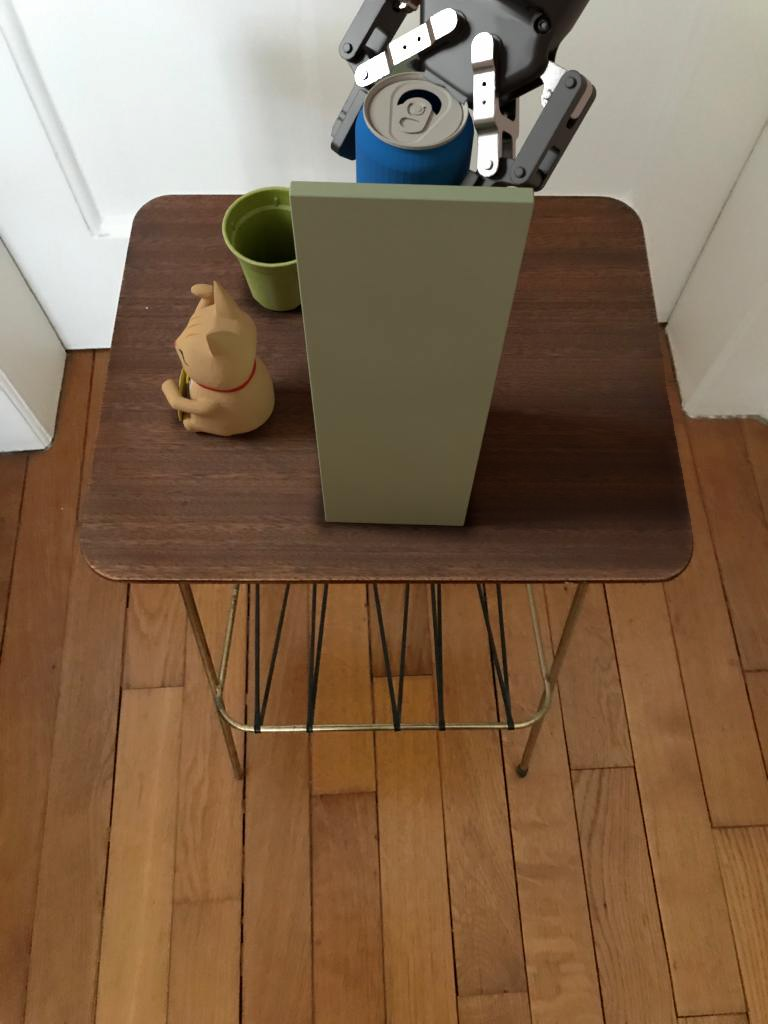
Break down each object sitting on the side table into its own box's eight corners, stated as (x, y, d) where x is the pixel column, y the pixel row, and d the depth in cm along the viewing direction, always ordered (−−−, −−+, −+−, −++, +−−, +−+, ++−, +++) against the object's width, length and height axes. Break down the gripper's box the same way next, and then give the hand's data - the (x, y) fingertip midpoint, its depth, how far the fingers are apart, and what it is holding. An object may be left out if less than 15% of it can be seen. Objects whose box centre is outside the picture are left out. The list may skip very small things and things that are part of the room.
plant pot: (329, 250, 91) (325, 185, 83) (330, 325, 87) (325, 265, 79) (237, 251, 91) (224, 186, 83) (233, 327, 87) (219, 266, 79)
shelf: (462, 405, 83) (524, 31, 49) (463, 526, 78) (534, 202, 44) (333, 401, 83) (305, 25, 49) (325, 522, 78) (288, 195, 44)
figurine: (178, 364, 85) (141, 255, 71) (281, 368, 85) (263, 260, 71) (165, 443, 81) (124, 344, 68) (273, 447, 81) (253, 348, 68)
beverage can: (469, 239, 59) (491, 82, 48) (440, 313, 57) (456, 165, 46) (376, 214, 60) (378, 54, 49) (343, 286, 57) (337, 134, 47)
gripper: (424, -194, 44) (271, 116, 51) (654, -62, 40) (454, 258, 46) (485, -123, 50) (343, 144, 57) (689, -2, 46) (509, 271, 53)
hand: (393, 195), depth 52 cm, fingers open, 8 cm apart
